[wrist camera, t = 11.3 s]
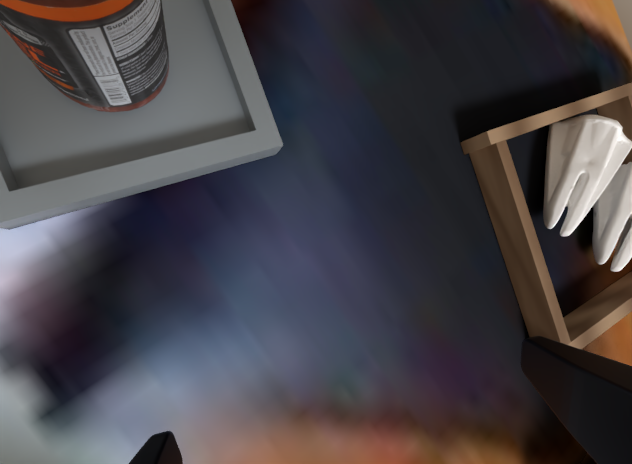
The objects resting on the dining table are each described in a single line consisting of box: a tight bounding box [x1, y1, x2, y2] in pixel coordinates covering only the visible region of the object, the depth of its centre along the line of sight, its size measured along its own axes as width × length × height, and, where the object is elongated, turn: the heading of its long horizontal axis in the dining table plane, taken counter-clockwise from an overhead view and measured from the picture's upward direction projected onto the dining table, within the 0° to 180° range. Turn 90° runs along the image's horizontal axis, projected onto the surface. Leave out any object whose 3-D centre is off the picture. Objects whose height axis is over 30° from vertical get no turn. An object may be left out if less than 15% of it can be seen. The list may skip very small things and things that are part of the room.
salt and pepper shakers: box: [543, 115, 632, 272], centre depth 28 cm, size 12×4×11 cm
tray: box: [0, 0, 283, 229], centre depth 17 cm, size 14×14×2 cm
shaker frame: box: [461, 83, 632, 349], centre depth 28 cm, size 19×18×2 cm
